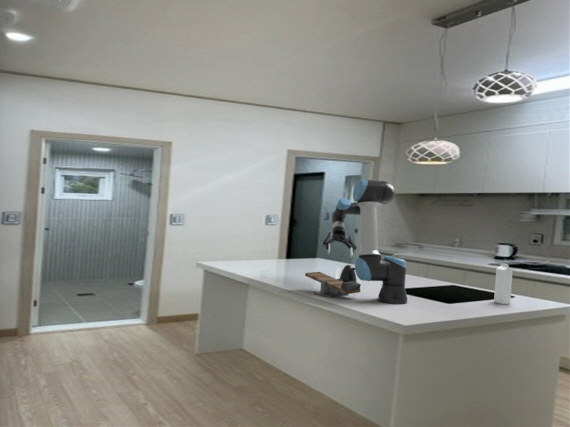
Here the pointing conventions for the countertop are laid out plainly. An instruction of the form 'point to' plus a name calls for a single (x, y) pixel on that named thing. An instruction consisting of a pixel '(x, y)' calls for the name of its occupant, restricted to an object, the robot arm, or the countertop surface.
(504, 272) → the milk
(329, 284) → the balance beam
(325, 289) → the pivot stand
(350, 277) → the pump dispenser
